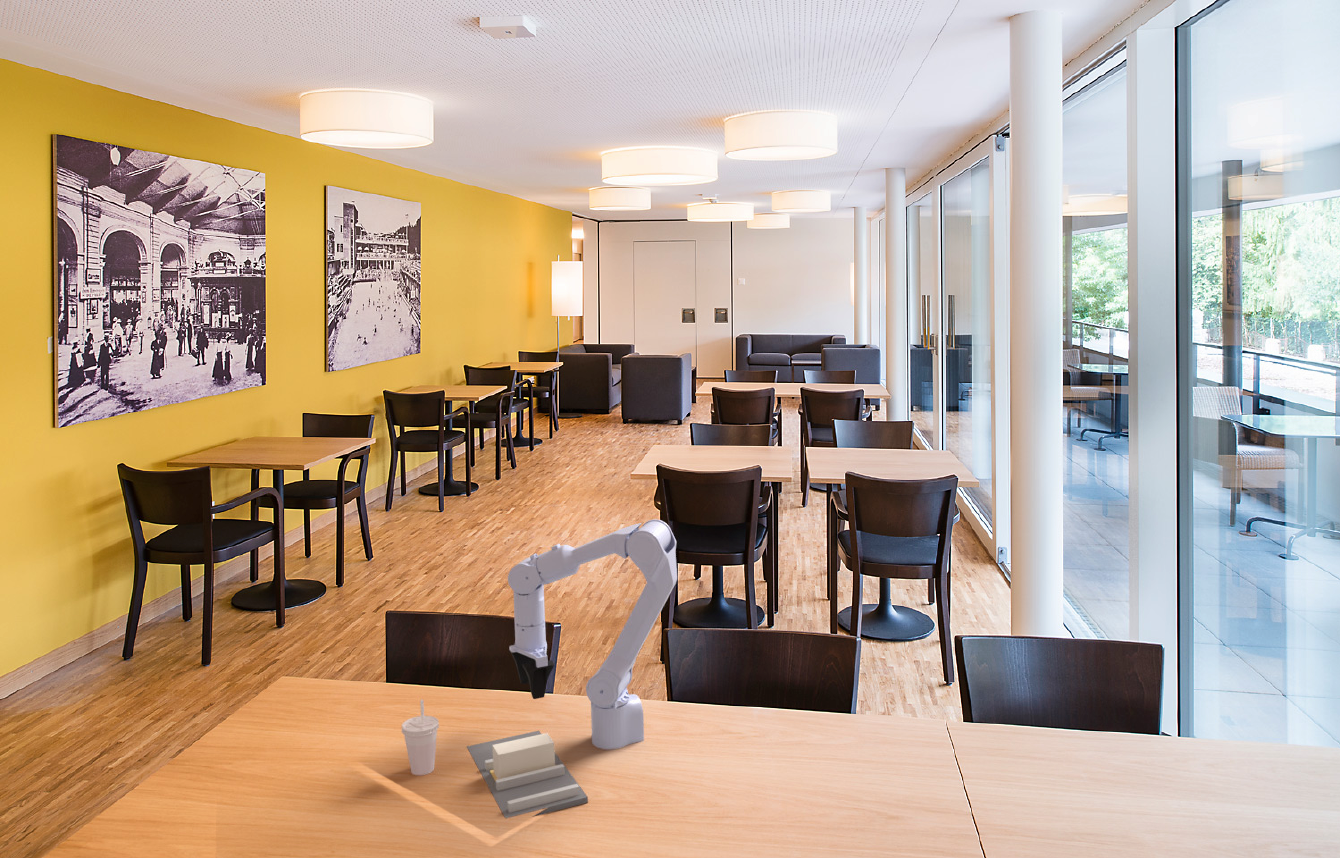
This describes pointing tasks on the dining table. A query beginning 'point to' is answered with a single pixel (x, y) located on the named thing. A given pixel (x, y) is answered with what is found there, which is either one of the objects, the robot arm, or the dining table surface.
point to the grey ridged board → (528, 783)
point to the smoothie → (421, 742)
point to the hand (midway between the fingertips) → (532, 690)
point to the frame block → (523, 755)
